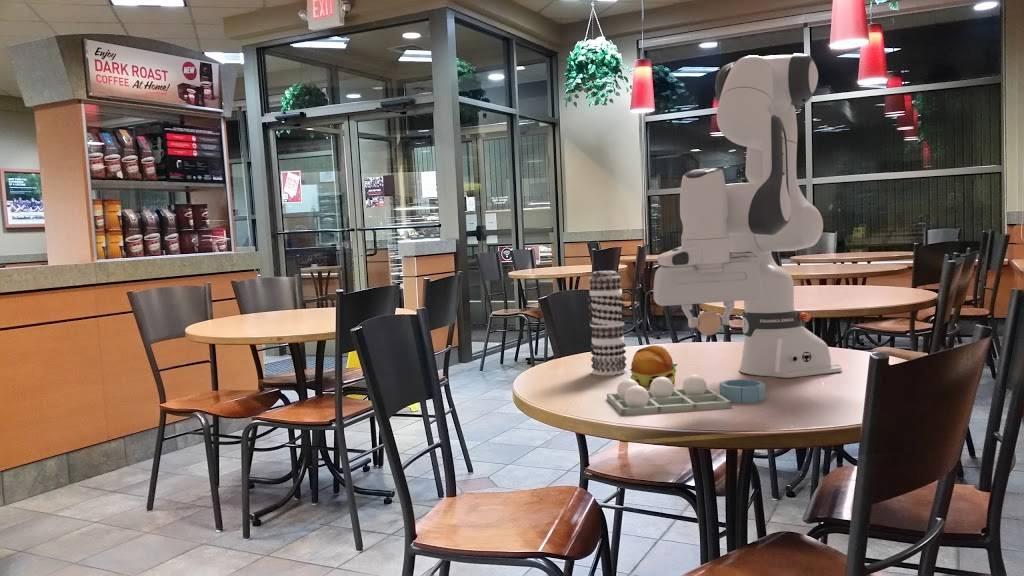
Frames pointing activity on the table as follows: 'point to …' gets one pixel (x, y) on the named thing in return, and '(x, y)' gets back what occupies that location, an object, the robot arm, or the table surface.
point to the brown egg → (709, 323)
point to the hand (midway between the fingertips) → (708, 326)
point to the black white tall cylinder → (606, 323)
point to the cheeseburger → (652, 365)
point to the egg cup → (743, 390)
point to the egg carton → (666, 397)
